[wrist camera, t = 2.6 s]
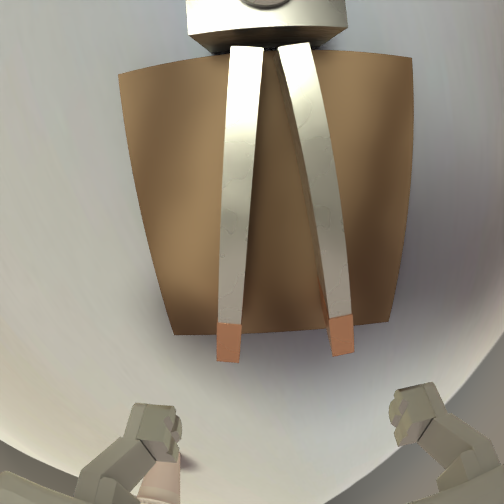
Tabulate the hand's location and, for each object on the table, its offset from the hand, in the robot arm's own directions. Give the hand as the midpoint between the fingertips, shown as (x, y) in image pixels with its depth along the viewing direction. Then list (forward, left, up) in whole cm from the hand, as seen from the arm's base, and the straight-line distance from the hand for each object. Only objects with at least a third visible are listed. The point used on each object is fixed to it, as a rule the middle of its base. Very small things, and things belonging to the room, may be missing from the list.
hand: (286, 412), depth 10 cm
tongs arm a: (-2, -4, -10) cm, 11 cm away
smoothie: (+16, +31, -12) cm, 37 cm away
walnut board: (0, -3, -12) cm, 12 cm away
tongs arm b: (+2, -4, -10) cm, 11 cm away
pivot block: (0, -15, -12) cm, 19 cm away
